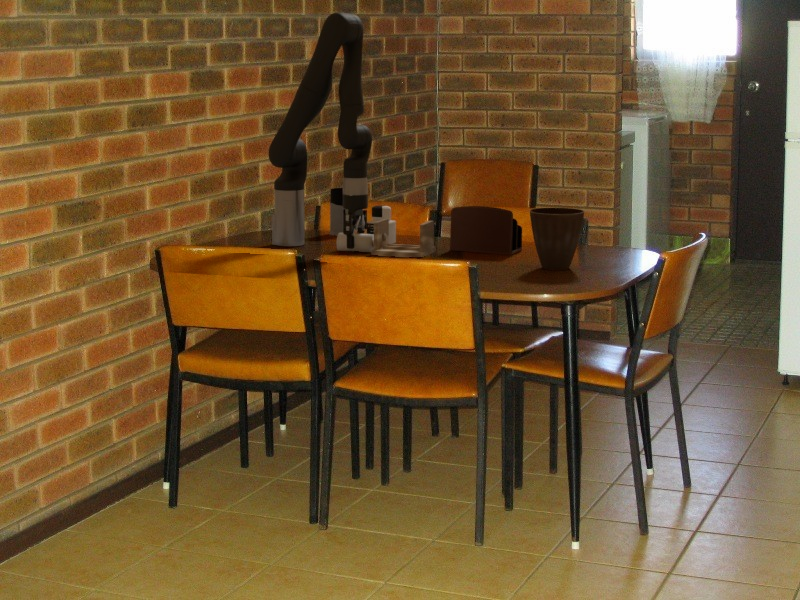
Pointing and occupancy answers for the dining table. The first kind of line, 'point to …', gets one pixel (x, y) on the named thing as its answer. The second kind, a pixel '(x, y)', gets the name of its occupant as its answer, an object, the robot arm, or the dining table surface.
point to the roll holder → (402, 250)
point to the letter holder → (485, 230)
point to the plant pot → (556, 235)
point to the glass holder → (336, 211)
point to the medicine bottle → (380, 214)
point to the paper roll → (356, 242)
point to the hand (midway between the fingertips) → (355, 246)
